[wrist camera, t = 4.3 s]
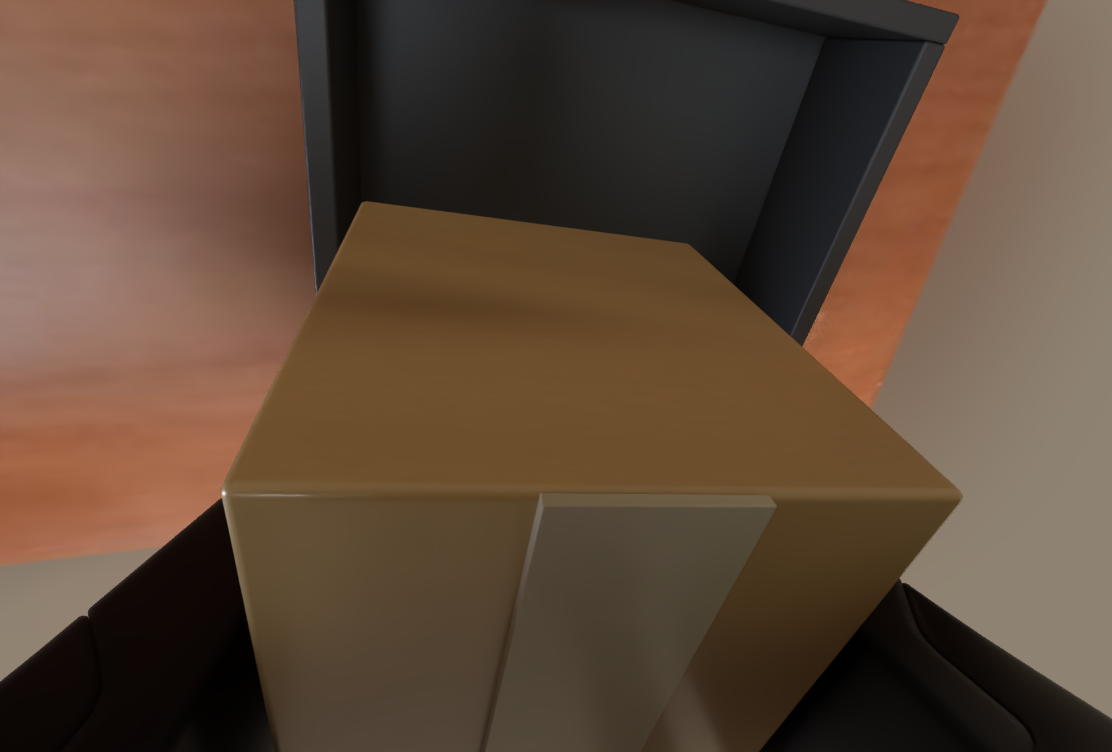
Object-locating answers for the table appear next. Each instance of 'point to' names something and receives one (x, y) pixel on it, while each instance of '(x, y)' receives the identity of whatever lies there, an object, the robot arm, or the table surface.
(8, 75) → the table surface
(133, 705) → the robot arm
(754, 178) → the bin
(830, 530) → the package
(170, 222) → the table surface
